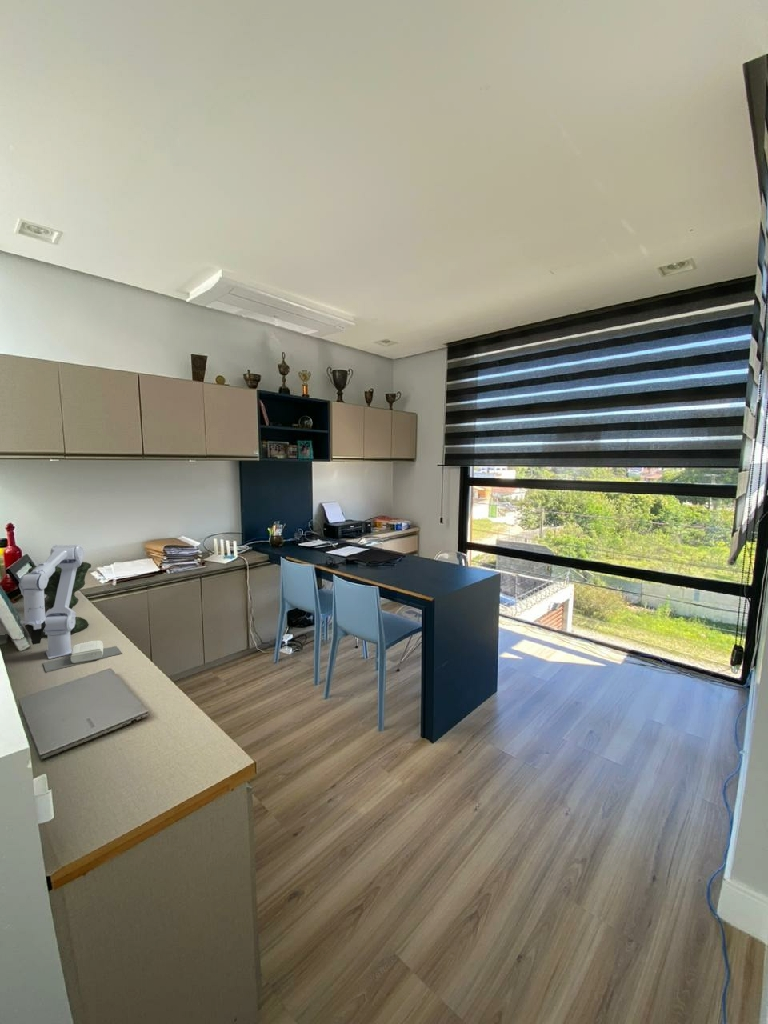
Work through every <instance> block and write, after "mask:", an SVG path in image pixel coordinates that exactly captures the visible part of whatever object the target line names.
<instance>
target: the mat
mask: <svg viewBox="0 0 768 1024" xmlns="http://www.w3.org/2000/svg"><path fill="white" fill-rule="evenodd" d="M122 654H123V652H122V651H121V650H120V648H118V646H117V645H114V646H109V647H105V648H104V647H103V655H102V657H101V658H98V659H94V660H89V661H84V662H78V663H72V661H71V659H70V658H71V655H70V656H66V657H63V658H62V657H61V658H57V659H53V660H49V661H48V660H47V661H45V662H42V665H43V669H44V671H45V672H46V673H50V672H53V671H58V670H62V669H67V668H70V667H73V666H74V667H75V666H78V665H81V664H86V663H91V662H95V661H99V660H103V659H107V658H110V657H111V658H112V657H115V656H119V655H122Z"/></svg>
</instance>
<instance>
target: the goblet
mask: <svg viewBox="0 0 768 1024" xmlns="http://www.w3.org/2000/svg"><path fill="white" fill-rule="evenodd" d="M37 566H38V565H36V566H33V567H30V568H29V569H28V571H27V572H28V574H30V573H31V572H32V571H33V570H34V569H35V568H36V567H37ZM91 567H92V564H91V563H90V562H87V561H82V563H81V566H79V567H77V571H76V576H75V580H74V585H73V590H72V595H71V599H70V604H69V608H70V609H72V610H73V608H74V607H75V606H76V605H77V604H78V603H79V598H78V597H77V596H76V595H75V594H76V592H78V591H79V590H81V589H82V588H83V587H85V584H86V580H85V579H86V575H87V572H88V571H89V569H91ZM61 572H62V569H61V568H60V567H58V566H56V567H55V572H54V573H53V574H52V575H51V576H50V578H49V580H48V583H47V586H46V588H45V589H44V595H46V596H49V597H48V600H47V601H46V602H45V606H46V608H47V609H48V610H50V609H51V608H53V607H54V603H55V598H56V594H57V590H58V585H59V581H60V576H61ZM89 626H90V624H89V622H88V621H87V620H86V619H85V618H84V617H80V616H75V626H74V628H73V629H72V630H71V631H70V635H72V634H75V633H78V632H81V631H83V630H85V629H87V628H88V627H89ZM41 638H48V636H47V634H45V632H43V633H42V637H41Z"/></svg>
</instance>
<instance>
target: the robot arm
mask: <svg viewBox="0 0 768 1024" xmlns="http://www.w3.org/2000/svg"><path fill="white" fill-rule="evenodd" d="M49 551H50V552H49V553H50V555H49V556H48V557H47V559H46V560H45V561H42V562H39V563H38V564H37V565H36V566H37V567H36V568H35V569H34V570H33V571H32V572H31V573H28V574H23V576H21V577H20V578H19V583H18V588H19V590H20V593H21V595H22V596H23V608H24V609H23V611H24V619H21V620H20V621H19V622H20V624H25V625H24V627H25V629H26V631H27V632H28V633H29V638H30V640H31V643H32V645H37V644H41V641H42V638H43V637H42V633H43V632H45V634H47V636H48V637H47V649H46V650H45V654H46V657H47V659H48V660H51V659H54V658H60V657H63V656H68V655H71V654H72V649H73V647H72V643H71V642H72V641H71V634H70V631H71V630H72V629H73V628H74V626H75V617H76V612H75V610H73V608H72V609H70V608H69V604H70V599H71V595H72V590H73V585H74V580H75V576H76V571H77V567H79V566H81V563H82V562H83V560H84V553H85V552H84V551H85V550H84V547H83V546H82V545H81V544H69V545H63V544H61V545H57V544H54V545H53V546H52V547H51V548H50V550H49ZM56 566H58V567H60V568H61V569H62V572H61V576H60V581H59V585H58V590H57V594H56V598H55V603H54V607H53V608H51V609H48V610H47V611H46V607H45V606H46V602H45V594H44V589H45V588H46V586H47V583H48V580H49V578H50V576H51V575H52V574H53V573H54V572H55V567H56Z"/></svg>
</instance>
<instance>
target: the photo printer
mask: <svg viewBox="0 0 768 1024" xmlns="http://www.w3.org/2000/svg"><path fill="white" fill-rule="evenodd" d="M103 649H104V643H103V641H102V640H91V641H85V642H81V643H78V644H75V645H73V647H72V654H70V656H71V658H70V659H71V661H72V663H78V662H84V661H89V660H94V659H98V658H101V657H102V655H103Z"/></svg>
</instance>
